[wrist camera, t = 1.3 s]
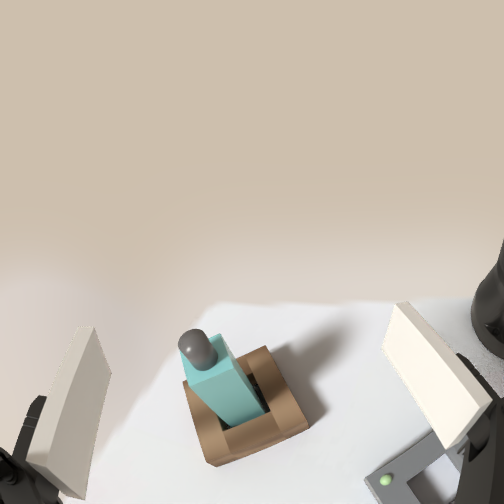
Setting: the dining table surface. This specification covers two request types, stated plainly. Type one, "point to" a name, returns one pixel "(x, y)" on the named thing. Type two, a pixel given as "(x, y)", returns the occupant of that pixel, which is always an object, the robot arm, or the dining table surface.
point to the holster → (256, 430)
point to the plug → (218, 378)
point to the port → (410, 470)
